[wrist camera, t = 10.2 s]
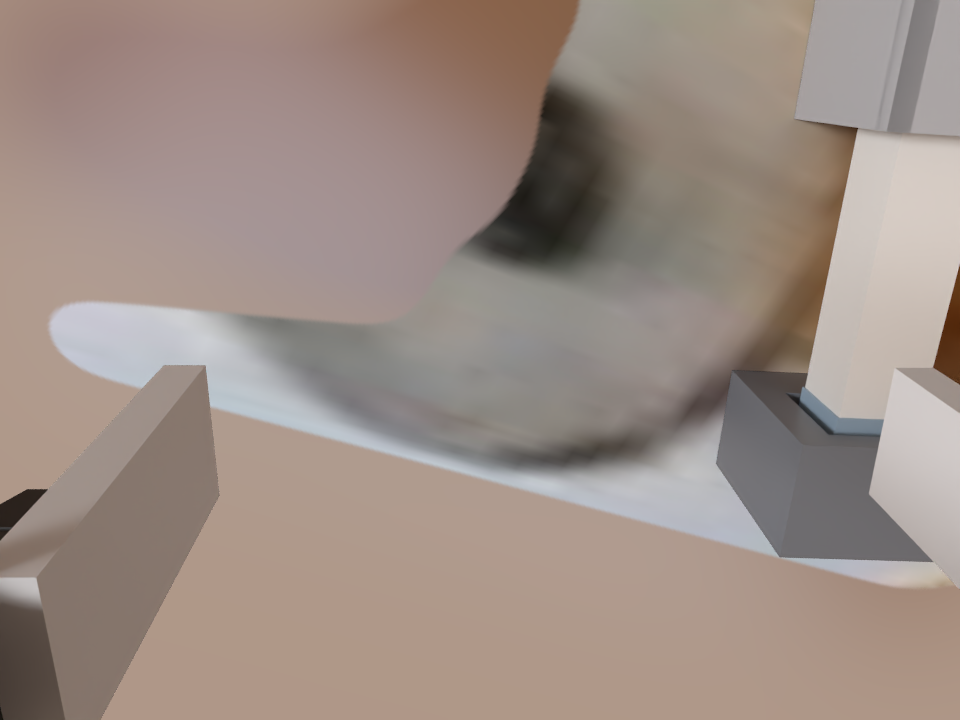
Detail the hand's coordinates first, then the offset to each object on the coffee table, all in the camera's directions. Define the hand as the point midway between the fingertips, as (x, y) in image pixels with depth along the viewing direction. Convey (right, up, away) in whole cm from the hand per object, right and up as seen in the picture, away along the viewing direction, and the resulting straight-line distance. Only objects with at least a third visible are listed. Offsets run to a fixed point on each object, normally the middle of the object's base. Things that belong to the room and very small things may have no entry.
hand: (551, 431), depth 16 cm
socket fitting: (+18, -2, +33) cm, 37 cm away
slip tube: (+18, +6, +26) cm, 32 cm away
